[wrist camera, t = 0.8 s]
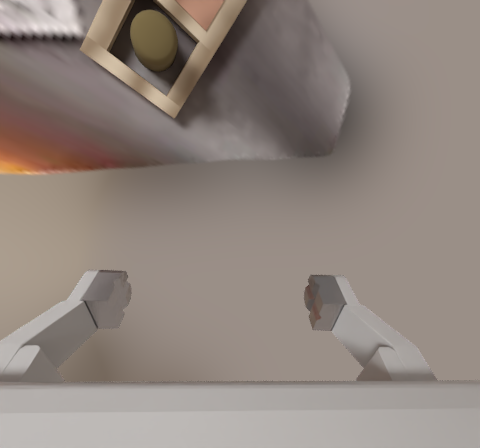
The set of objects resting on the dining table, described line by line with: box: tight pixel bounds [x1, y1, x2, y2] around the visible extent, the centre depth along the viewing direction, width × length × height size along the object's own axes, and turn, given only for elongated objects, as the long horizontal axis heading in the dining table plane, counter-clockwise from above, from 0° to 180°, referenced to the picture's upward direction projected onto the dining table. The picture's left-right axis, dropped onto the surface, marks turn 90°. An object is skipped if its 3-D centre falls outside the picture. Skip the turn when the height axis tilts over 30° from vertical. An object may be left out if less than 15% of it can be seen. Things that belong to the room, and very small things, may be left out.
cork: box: [130, 10, 178, 72], centre depth 32 cm, size 6×6×11 cm
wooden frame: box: [80, 0, 247, 119], centre depth 34 cm, size 14×22×3 cm, turn 141°
